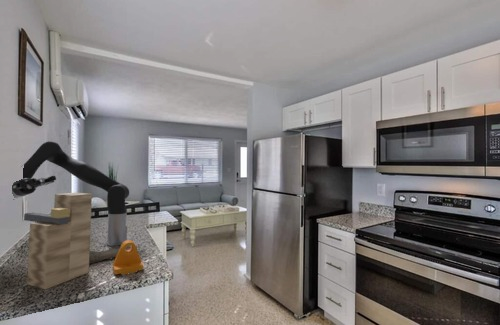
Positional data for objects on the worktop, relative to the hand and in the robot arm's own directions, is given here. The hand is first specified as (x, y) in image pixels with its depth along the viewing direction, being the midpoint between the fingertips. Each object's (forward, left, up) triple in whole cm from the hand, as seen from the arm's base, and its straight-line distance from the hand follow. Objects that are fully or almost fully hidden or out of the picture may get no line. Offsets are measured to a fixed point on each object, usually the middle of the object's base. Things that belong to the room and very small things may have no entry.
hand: (45, 178), depth 113 cm
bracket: (-28, +32, -38) cm, 57 cm away
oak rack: (-5, +24, -37) cm, 45 cm away
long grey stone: (-21, +10, -38) cm, 44 cm away
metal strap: (0, +24, -15) cm, 28 cm away
